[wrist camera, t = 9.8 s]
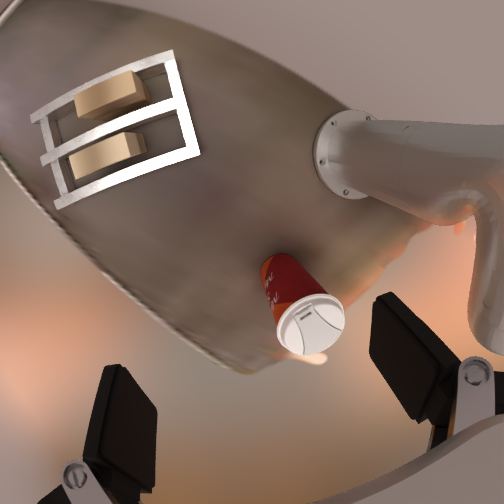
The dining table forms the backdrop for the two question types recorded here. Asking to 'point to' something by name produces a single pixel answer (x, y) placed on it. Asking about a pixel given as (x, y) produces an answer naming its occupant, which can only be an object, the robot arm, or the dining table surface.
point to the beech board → (107, 153)
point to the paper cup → (300, 307)
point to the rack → (114, 129)
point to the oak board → (112, 97)
